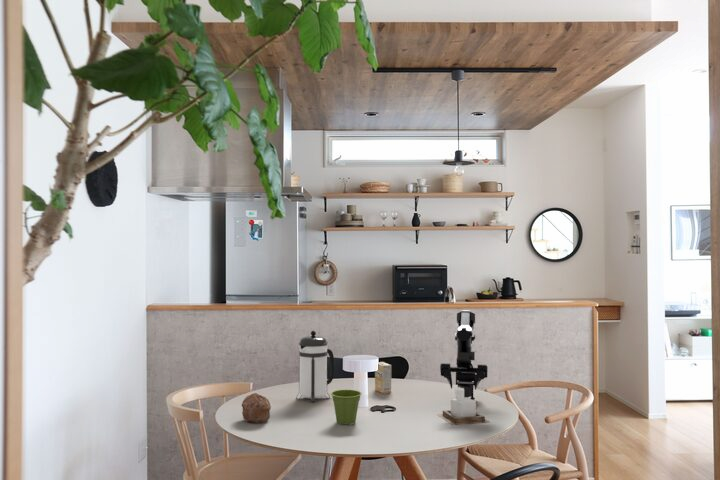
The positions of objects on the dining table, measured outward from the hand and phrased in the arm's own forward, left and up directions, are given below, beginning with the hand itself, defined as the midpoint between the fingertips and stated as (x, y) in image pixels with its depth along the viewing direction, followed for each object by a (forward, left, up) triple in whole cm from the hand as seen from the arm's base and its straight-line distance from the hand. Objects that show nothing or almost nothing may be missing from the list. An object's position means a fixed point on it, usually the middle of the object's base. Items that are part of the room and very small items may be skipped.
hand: (463, 388), depth 249 cm
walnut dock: (+1, +1, -12) cm, 12 cm away
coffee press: (+52, -45, -11) cm, 69 cm away
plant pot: (+47, -4, -12) cm, 48 cm away
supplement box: (+19, -50, -12) cm, 54 cm away
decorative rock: (+80, -15, -12) cm, 82 cm away
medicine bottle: (+1, +1, -11) cm, 12 cm away
